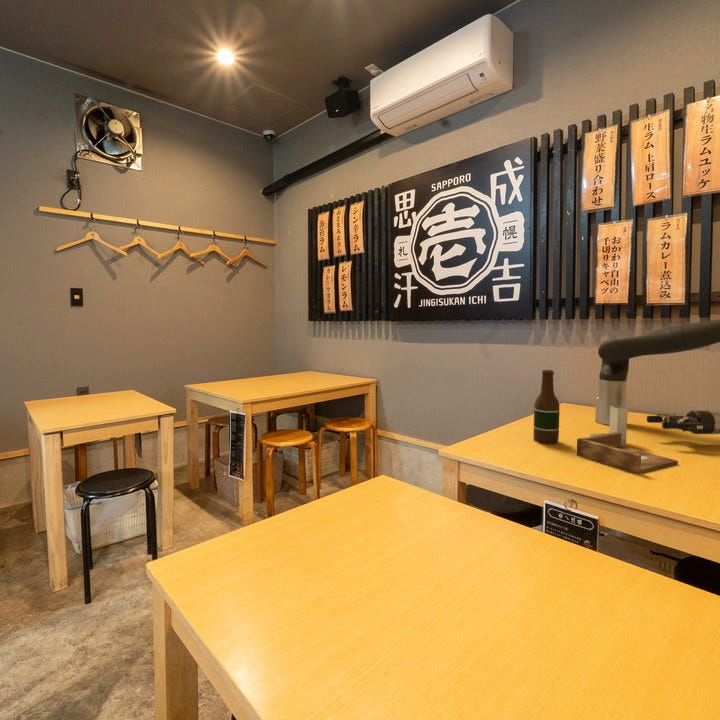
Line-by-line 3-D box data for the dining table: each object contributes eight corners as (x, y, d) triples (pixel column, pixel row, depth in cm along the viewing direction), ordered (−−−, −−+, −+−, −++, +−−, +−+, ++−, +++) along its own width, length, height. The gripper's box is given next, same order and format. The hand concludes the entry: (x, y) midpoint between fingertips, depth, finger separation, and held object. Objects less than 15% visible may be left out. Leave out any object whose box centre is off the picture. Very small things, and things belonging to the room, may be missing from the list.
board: (576, 455, 129) (576, 451, 128) (616, 447, 136) (616, 444, 136) (636, 474, 112) (636, 470, 112) (677, 464, 120) (677, 460, 120)
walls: (576, 451, 129) (577, 438, 128) (616, 444, 136) (616, 432, 136) (636, 470, 112) (637, 455, 112) (677, 460, 120) (678, 446, 119)
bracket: (618, 441, 143) (619, 405, 142) (626, 445, 138) (627, 408, 137) (590, 440, 144) (591, 405, 143) (596, 444, 139) (598, 408, 138)
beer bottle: (557, 439, 146) (559, 369, 144) (559, 445, 139) (562, 371, 137) (532, 437, 149) (534, 368, 147) (534, 443, 141) (535, 371, 139)
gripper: (693, 406, 144) (642, 406, 146) (725, 415, 130) (669, 415, 132) (692, 428, 145) (642, 428, 147) (724, 439, 131) (667, 439, 132)
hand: (654, 422), depth 139 cm, fingers open, 8 cm apart
